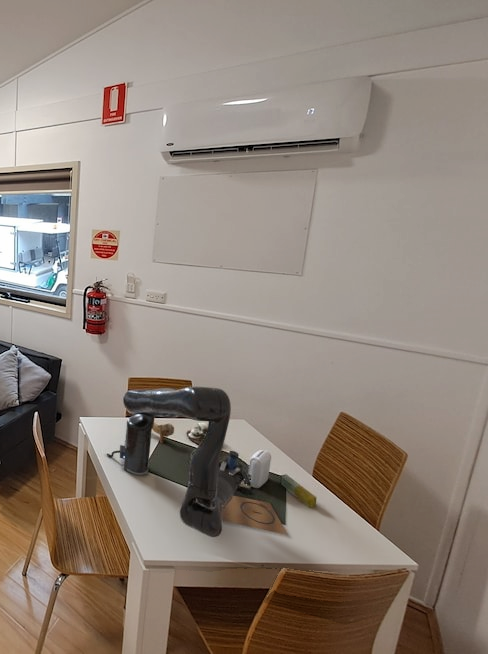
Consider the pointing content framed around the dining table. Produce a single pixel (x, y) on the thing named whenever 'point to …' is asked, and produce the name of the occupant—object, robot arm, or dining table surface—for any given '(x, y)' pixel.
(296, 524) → the dining table surface
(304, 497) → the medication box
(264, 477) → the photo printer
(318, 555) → the dining table surface
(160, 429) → the lion figurine
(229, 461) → the marker
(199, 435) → the skull
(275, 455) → the dining table surface
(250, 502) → the face circle
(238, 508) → the sketch board
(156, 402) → the robot arm
